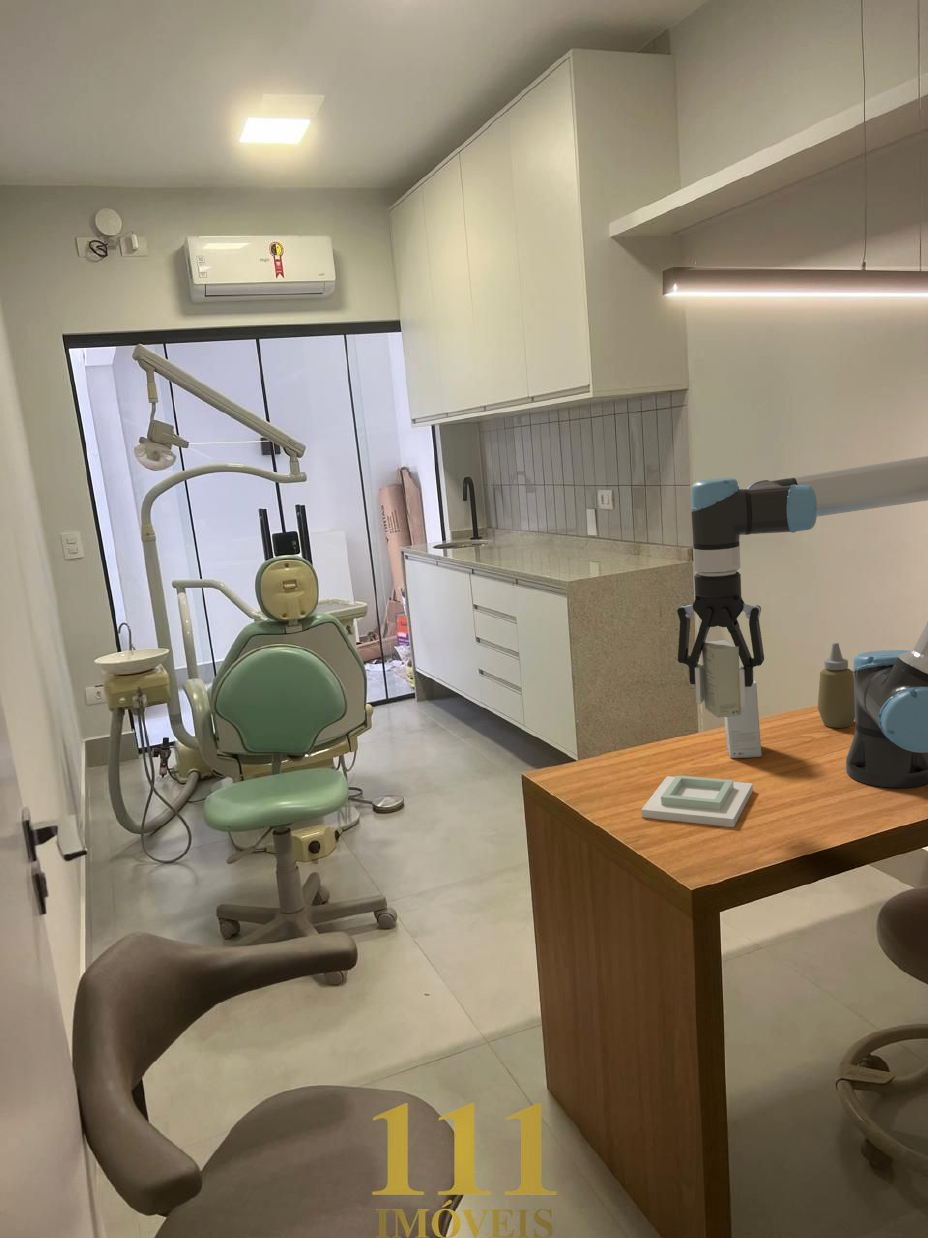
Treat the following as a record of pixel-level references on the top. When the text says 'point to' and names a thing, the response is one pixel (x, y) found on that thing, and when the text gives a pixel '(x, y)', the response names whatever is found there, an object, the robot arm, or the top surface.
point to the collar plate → (698, 800)
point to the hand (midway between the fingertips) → (722, 702)
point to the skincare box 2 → (745, 729)
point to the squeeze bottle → (836, 691)
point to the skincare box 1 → (721, 678)
